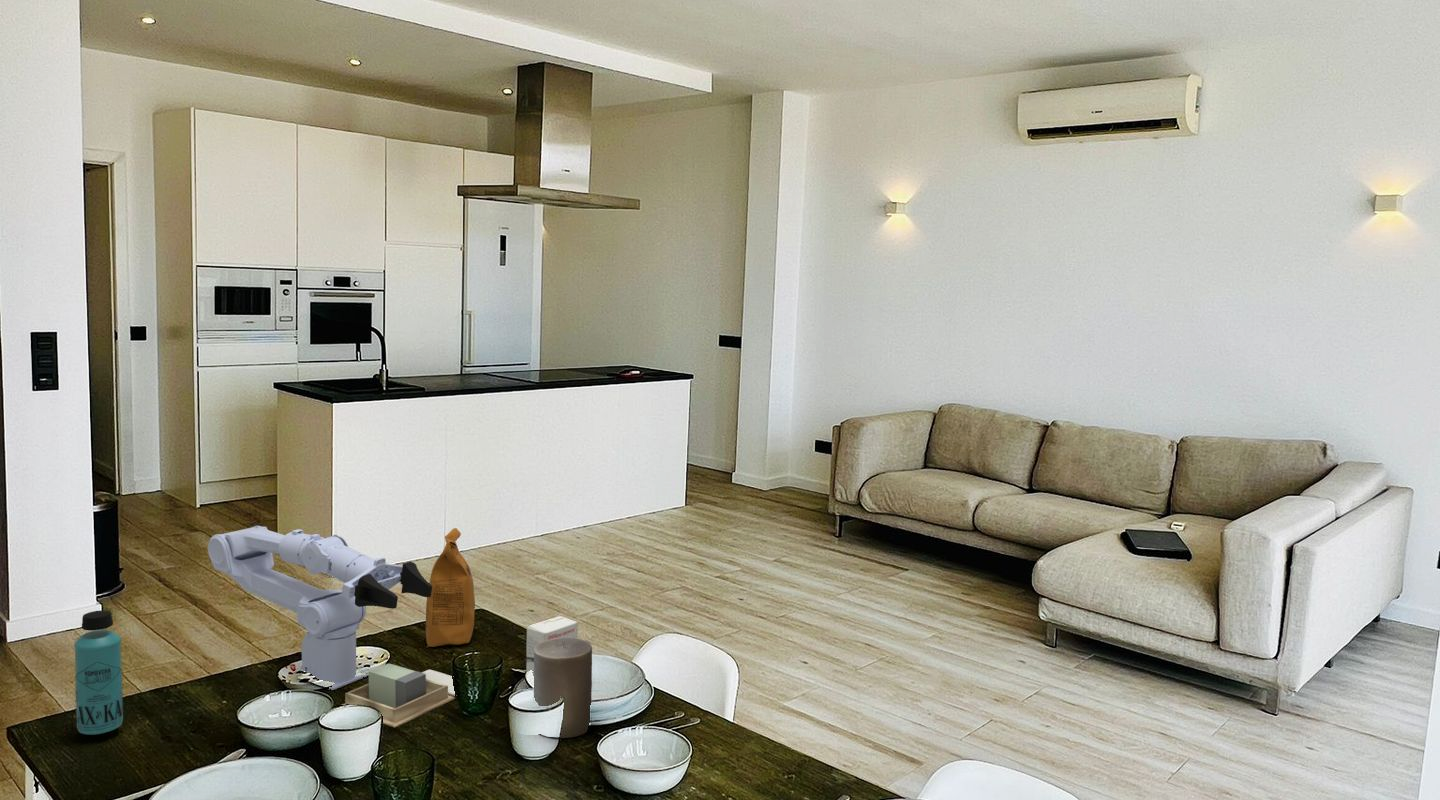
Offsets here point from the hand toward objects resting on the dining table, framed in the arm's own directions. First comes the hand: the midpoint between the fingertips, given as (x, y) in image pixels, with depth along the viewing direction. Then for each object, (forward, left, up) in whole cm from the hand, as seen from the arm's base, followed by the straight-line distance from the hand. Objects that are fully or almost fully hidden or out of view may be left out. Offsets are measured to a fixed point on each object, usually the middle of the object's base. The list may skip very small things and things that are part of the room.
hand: (413, 597), depth 170 cm
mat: (-3, +10, -19) cm, 22 cm away
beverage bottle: (-32, -35, -20) cm, 51 cm away
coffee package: (-18, +27, -20) cm, 38 cm away
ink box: (+14, +20, -20) cm, 31 cm away
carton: (-3, -1, -19) cm, 20 cm away
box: (-3, -1, -19) cm, 20 cm away
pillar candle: (+26, +8, -20) cm, 34 cm away
